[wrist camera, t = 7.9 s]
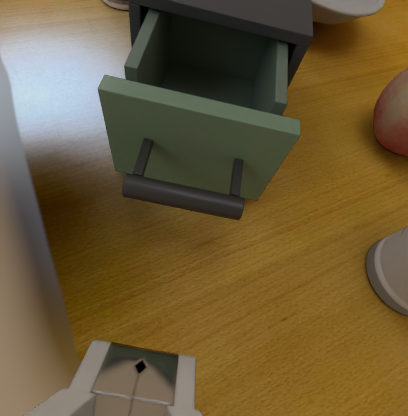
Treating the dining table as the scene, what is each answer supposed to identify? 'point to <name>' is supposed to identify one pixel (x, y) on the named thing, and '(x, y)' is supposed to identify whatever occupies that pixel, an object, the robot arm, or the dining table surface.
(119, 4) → the pill bottle
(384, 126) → the fruit
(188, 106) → the drawer
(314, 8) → the dish
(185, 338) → the dining table surface
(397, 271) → the travel mug
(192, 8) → the cabinet
